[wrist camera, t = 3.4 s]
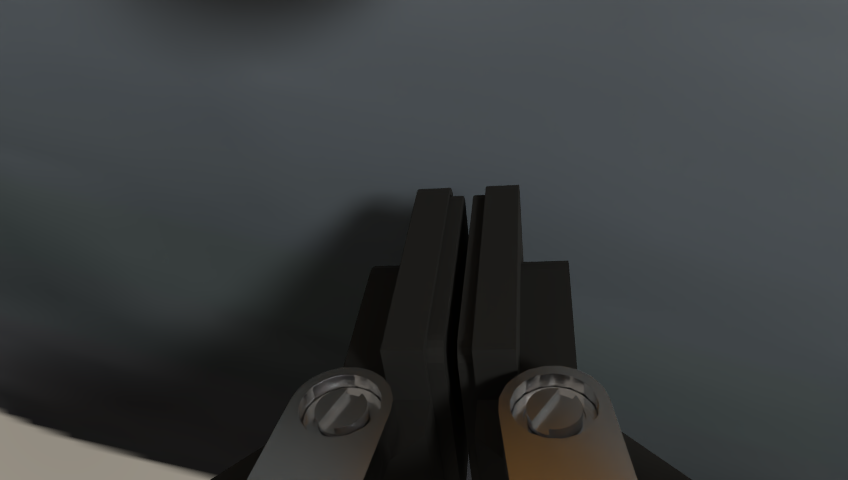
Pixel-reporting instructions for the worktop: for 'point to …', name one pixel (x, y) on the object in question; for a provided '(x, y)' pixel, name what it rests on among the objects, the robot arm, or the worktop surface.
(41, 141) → the worktop surface
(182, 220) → the worktop surface
